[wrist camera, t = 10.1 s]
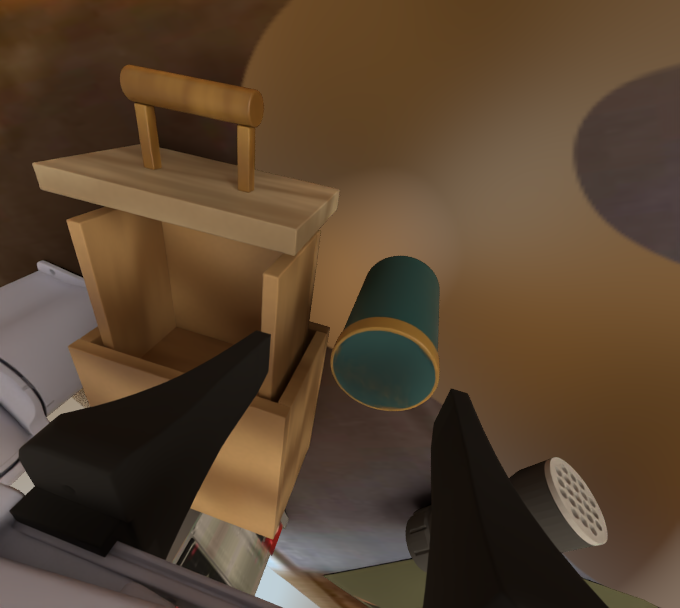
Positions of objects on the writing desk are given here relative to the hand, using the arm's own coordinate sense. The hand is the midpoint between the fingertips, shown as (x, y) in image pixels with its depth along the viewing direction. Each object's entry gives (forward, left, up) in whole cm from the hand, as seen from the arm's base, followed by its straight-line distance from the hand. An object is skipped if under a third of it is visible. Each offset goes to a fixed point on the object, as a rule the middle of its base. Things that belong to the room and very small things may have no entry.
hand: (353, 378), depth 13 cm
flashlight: (+16, -16, -10) cm, 25 cm away
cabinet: (-7, -15, -10) cm, 19 cm away
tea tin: (+1, -1, -10) cm, 10 cm away
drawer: (-10, -2, -9) cm, 14 cm away
